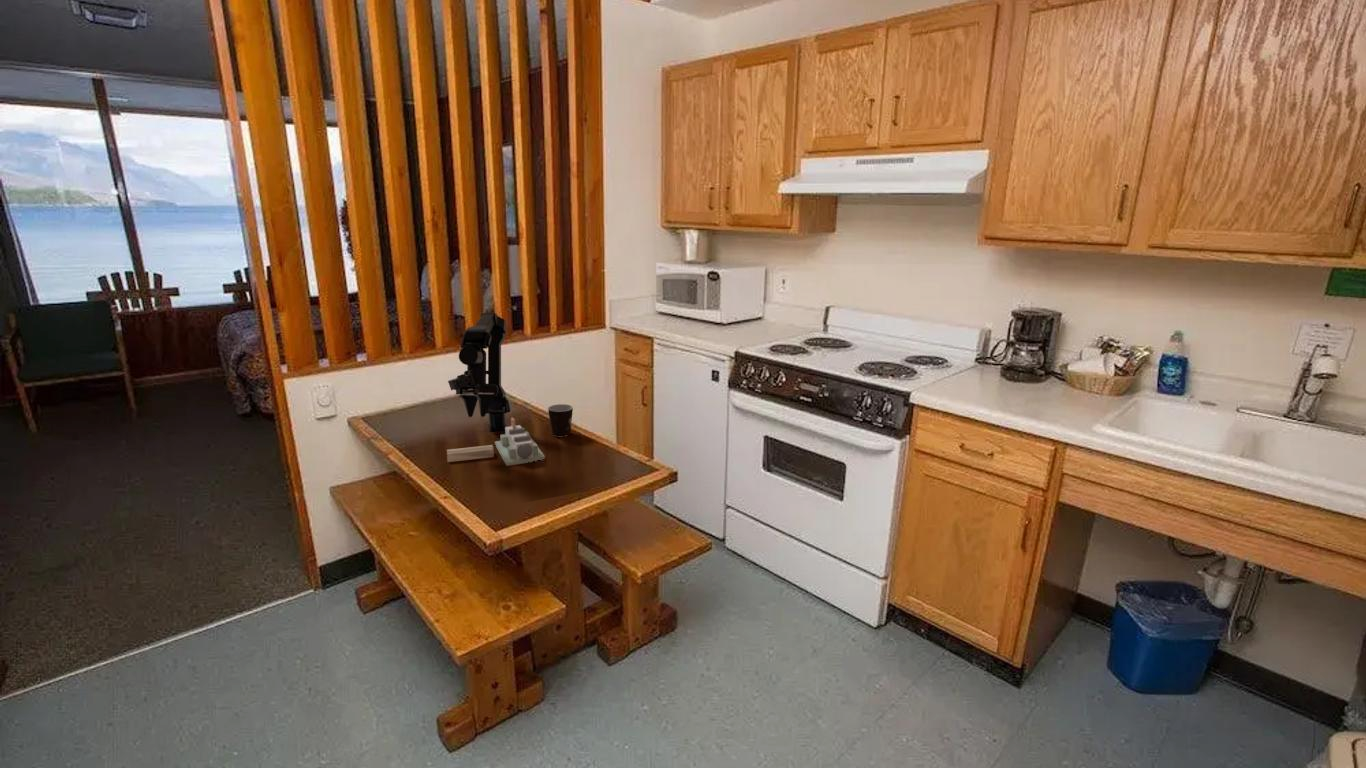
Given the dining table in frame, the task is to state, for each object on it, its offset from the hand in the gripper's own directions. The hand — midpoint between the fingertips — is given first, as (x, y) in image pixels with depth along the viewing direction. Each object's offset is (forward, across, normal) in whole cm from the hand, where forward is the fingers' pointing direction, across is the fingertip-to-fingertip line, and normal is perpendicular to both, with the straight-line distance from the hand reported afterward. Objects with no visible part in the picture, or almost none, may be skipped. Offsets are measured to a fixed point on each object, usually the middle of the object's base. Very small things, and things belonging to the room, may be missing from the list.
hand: (476, 416), depth 192 cm
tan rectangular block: (+13, -5, 0) cm, 14 cm away
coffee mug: (+7, -3, +32) cm, 33 cm away
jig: (+12, +1, +14) cm, 19 cm away
